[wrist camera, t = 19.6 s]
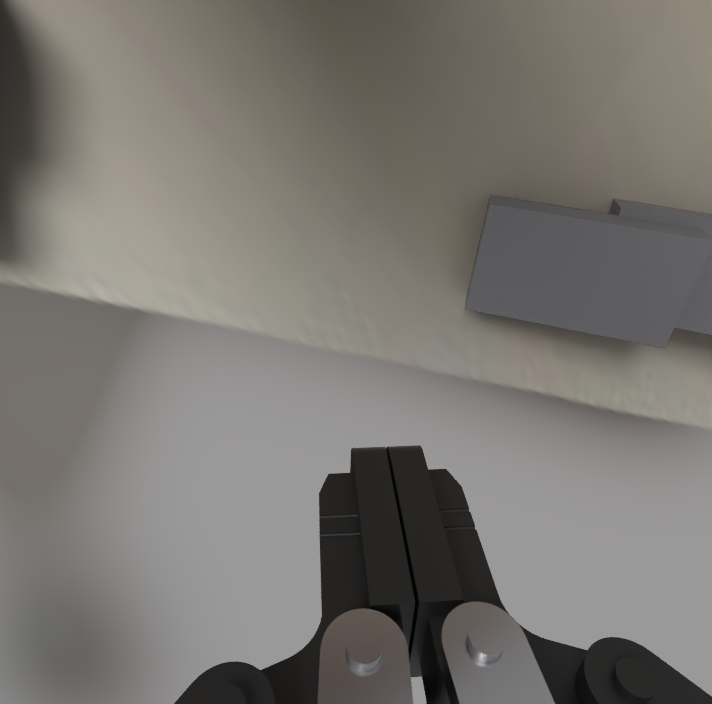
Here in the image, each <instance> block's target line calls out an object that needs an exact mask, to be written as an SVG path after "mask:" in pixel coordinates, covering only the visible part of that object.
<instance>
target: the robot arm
mask: <svg viewBox="0 0 712 704" xmlns="http://www.w3.org/2000/svg"><path fill="white" fill-rule="evenodd" d="M319 506H320V507H319V508H320V510H319V513H320V561H321V562H320V563H321V599H322V618H321V622H320V625H319V628H318V630H317V632H316V634H315V635H314V637H313V638H312V639H311V641H310V642H309V643H308V644H307V645H306V646H305V647H304V648H303V649H302V650H301V651H299V652H298V653H297V654H295V655H293V656H291V657H289V658H288V659H285V660H283V661H281V662H278V663H276V664H274V665H272V666H269V667H268V668H265V669H262V670H259V669H257V668H256V667H254V666H252V665H250V664H247V663H243V662H227V663H222V664H219V665H216V666H214V667H212V668H210V669H209V670H207V671H205V672H204V673H203V674H201V675H200V676H199V677H198V678H197V679H196V680H195V681H194V682H193V683H192V684H191V685H190V686H189V687H188V688H187V690H186V691H185V692H184V693H183V694H182V695H181V696H180V698H179V699H178V700H177V701H176V702H175V703H174V704H413V696H412V686H411V677H418V676H422V679H423V684H424V690H425V695H426V701H427V703H426V704H712V697H711V696H710V695H709V694H707V693H706V692H705V691H703V690H702V689H701V688H699V687H698V686H697V685H695V684H694V683H693V682H691V681H690V680H688V679H687V678H686V677H684V676H683V675H682V674H680V673H679V672H678V671H676V670H675V669H674V668H672V667H671V666H669V665H668V664H667V663H666V662H664V661H663V660H661V659H660V658H659V657H657V656H656V655H654V654H653V653H652V652H651V651H649V650H647V649H646V648H645V647H643V646H641V645H639V644H637V643H635V642H633V641H630V640H627V639H622V638H617V637H609V638H603V639H600V640H598V641H596V642H595V643H593V645H591V647H590V648H589V649H588V650H584V649H580V648H576V647H573V646H569V645H565V644H561V643H558V642H554V641H550V640H547V639H544V638H541V637H539V636H537V635H534V634H532V633H531V632H529V631H527V630H526V629H524V628H523V627H522V626H521V625H519V624H518V623H517V622H516V621H515V620H514V619H513V618H512V617H511V616H510V615H509V613H508V612H507V611H506V609H505V608H504V606H503V604H502V603H501V600H500V598H499V595H498V593H497V590H496V587H495V584H494V581H493V578H492V575H491V572H490V569H489V566H488V563H487V560H486V557H485V554H484V551H483V548H482V545H481V542H480V540H479V537H478V533H477V531H476V530H475V525H474V522H473V519H472V516H471V513H470V512H469V507H468V504H467V501H466V498H465V495H464V492H463V489H462V487H461V485H459V483H458V482H457V481H456V480H455V479H454V478H453V476H452V475H451V474H450V473H449V472H448V471H447V470H446V469H435V470H428V468H427V465H426V461H425V457H424V453H423V450H422V448H421V446H397V447H387V448H385V447H372V448H352V449H351V469H350V473H339V474H328V476H327V478H326V481H325V482H324V484H323V487H322V489H321V491H320V493H319Z"/></svg>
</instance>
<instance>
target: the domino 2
mask: <svg viewBox="0 0 712 704" xmlns="http://www.w3.org/2000/svg"><path fill="white" fill-rule="evenodd" d="M609 214H612V215H618V216H624V217H630V218H636V219H642V220H649V221H655V222H661V223H667V224H673V225H680V226H686V227H692V228H698V229H702V230H703V231H704V232H705V233H706V234H708V235H709V236H710V237H711V238H712V214H706V213H700V212H693V211H687V210H681V209H674V208H668V207H662V206H655V205H649V204H643V203H636V202H630V201H624V200H617V199H614V200H613V202H612V205H611V208H610V211H609ZM675 328H677V329H683V330H688V331H693V332H698V333H704V334H709V335H712V250H711V252H710V254H709V256H708V258H707V260H706V263H705V265H704V267H703V269H702V271H701V273H700V275H699V277H698V279H697V281H696V284H695V286H694V288H693V290H692V292H691V294H690V296H689V298H688V300H687V302H686V305H685V307H684V309H683V311H682V313H681V315H680V317H679V319H678V321H677V324H676V326H675Z"/></svg>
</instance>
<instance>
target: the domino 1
mask: <svg viewBox="0 0 712 704" xmlns="http://www.w3.org/2000/svg"><path fill="white" fill-rule="evenodd" d="M711 250H712V238H711V237H710V236H709V235H708V234H706V233H705V232H704V231H703V230H702V229H698V228H692V227H686V226H680V225H673V224H667V223H661V222H655V221H649V220H642V219H636V218H630V217H624V216H618V215H612V214H605V213H599V212H593V211H587V210H581V209H574V208H568V207H562V206H556V205H550V204H543V203H537V202H531V201H525V200H519V199H513V198H506V197H500V196H494V195H490V199H489V203H488V207H487V212H486V216H485V220H484V224H483V229H482V233H481V237H480V242H479V246H478V250H477V254H476V259H475V263H474V267H473V271H472V276H471V280H470V284H469V288H468V293H467V298H466V306H465V309H467V310H472V311H477V312H482V313H487V314H492V315H497V316H502V317H508V318H513V319H518V320H523V321H528V322H533V323H538V324H543V325H548V326H554V327H559V328H564V329H569V330H574V331H579V332H584V333H589V334H594V335H599V336H605V337H610V338H615V339H620V340H625V341H630V342H635V343H640V344H645V345H650V346H656V347H661V348H665V347H666V345H667V342H668V340H669V338H670V336H671V334H672V332H673V330H674V328H675V326H676V324H677V321H678V319H679V317H680V315H681V313H682V311H683V309H684V307H685V305H686V302H687V300H688V298H689V296H690V294H691V292H692V290H693V288H694V286H695V284H696V281H697V279H698V277H699V275H700V273H701V271H702V269H703V267H704V265H705V263H706V260H707V258H708V256H709V254H710V252H711Z"/></svg>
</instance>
